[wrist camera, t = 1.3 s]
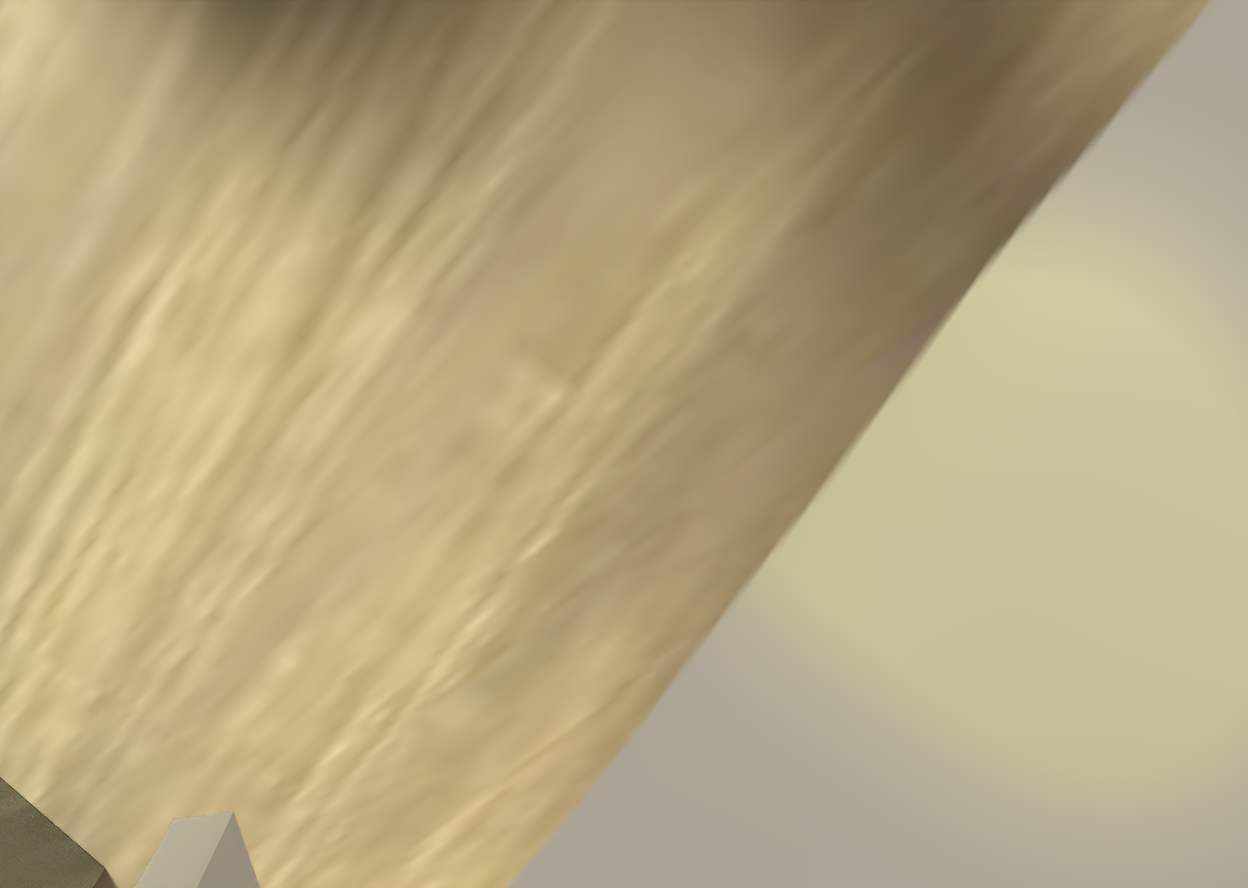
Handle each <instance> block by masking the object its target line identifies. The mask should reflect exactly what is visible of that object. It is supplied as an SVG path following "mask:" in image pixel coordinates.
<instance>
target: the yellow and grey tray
mask: <svg viewBox="0 0 1248 888" xmlns="http://www.w3.org/2000/svg"><path fill="white" fill-rule="evenodd" d="M104 869H105V868H104V867H102V866H101V865H100V864H99V863H98V862H97V861H95V860H94V859H93V858H92V857H91V856H90V855H88V854H87V853H86V852H85V851H84V850H83V849H82V848H80V847H79V846H78V845H77V844H76V843H75V842H73V841H72V840H71V839H70V838H69V837H68V836H67V835H65V834H64V833H63V832H62V831H61V830H60V829H58V828H57V827H56V826H55V825H54V824H53V823H51V822H50V821H49V820H48V819H47V818H46V817H45V816H43V815H42V814H41V813H40V812H39V811H38V810H36V809H35V808H34V807H33V806H32V805H31V804H29V803H28V802H27V801H26V800H25V799H24V798H23V797H21V796H20V795H19V794H18V793H17V792H16V791H14V790H13V789H12V788H11V787H10V786H9V785H8V784H6V783H5V782H4V781H3V780H2V779H1V778H0V888H93V887H94V886H95V884H96V882H97V881H98V879H99V877H100V876H101V874H102V873H103V871H104Z"/></svg>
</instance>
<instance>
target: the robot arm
mask: <svg viewBox="0 0 1248 888" xmlns="http://www.w3.org/2000/svg"><path fill="white" fill-rule="evenodd" d="M136 888H260V887H259V884H258V881H257V878H256V875H255V872H254V869H253V866H252V864H251V861H250V858H249V855H248V852H247V849H246V846H245V843H244V840H243V837H242V835H241V832H240V829H239V826H238V823H237V820H236V817H235V814H234V812H227V813H219V814H211V815H202V816H194V817H186V818H178V819H173V821H172V823H171V824H170V826H169V828H168V830H167V832H166V833H165V835H164V837H163V839H162V841H161V842H160V844H159V846H158V848H157V850H156V851H155V853H154V855H153V857H152V859H151V861H150V862H149V864H148V866H147V868H146V870H145V871H144V873H143V875H142V877H141V879H140V880H139V882H138V884H137V886H136Z"/></svg>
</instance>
